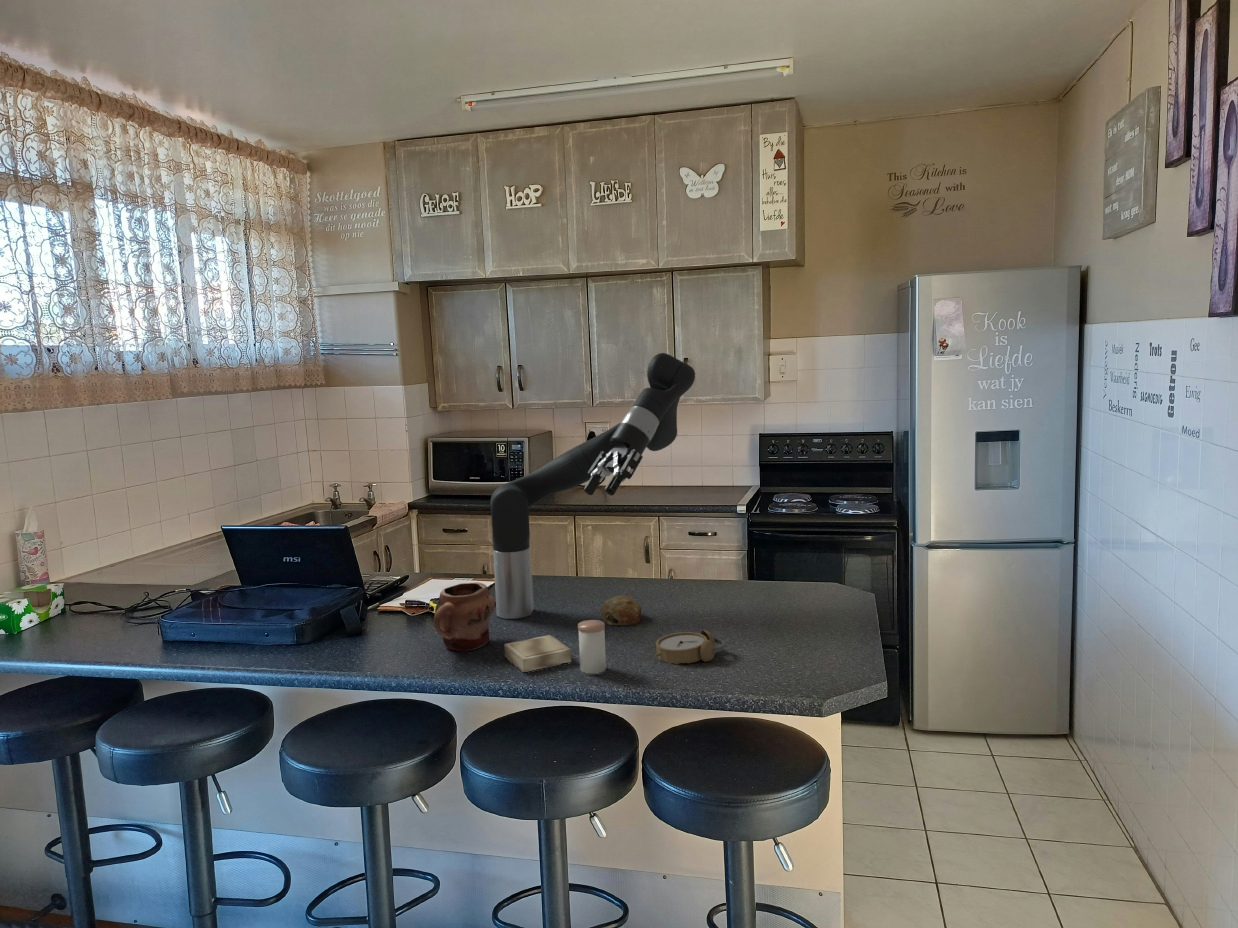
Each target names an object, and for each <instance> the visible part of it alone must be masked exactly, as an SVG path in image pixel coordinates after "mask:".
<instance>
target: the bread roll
mask: <svg viewBox="0 0 1238 928" xmlns="http://www.w3.org/2000/svg"><path fill="white" fill-rule="evenodd" d="M601 616H602V619H603V622H604V623H605V624H607V625H608V626H611V625H612V626H632V625H635V624H638V623H640V621H641V616H642V606H641V605H640V604H639V602H638V601H636V600H635V599H634V598H633V597H631V596H628V595H626V594H625V595H624V594H621V595H617V596H614V597H611V598H608V599H607V600H606V601H605V602H604V603H603V605H602V608H601Z"/></svg>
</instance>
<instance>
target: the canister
mask: <svg viewBox="0 0 1238 928" xmlns="http://www.w3.org/2000/svg"><path fill="white" fill-rule="evenodd" d="M605 629H606V622H605V621H604V620H603V621H602V620H599V619H588V620H582V621H580V622H579V623H577V630H578V645H579V648H578V649H579V651H578V652H579V671H580V670H581V671H582V672H585V673H599V672H602V671H604V670H605V669H606V670H607V662H606V639H605V637H606V633H605Z"/></svg>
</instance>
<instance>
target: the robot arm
mask: <svg viewBox="0 0 1238 928" xmlns="http://www.w3.org/2000/svg"><path fill="white" fill-rule="evenodd" d="M646 371H647V374H646V377H647V382H648V385H649V387H645V388H644V389H642V391H641V392H640V393H639V394H638V396H637V398H636V399H635V401H634V403H633V404H632V406H631V407H630V409H629V410H628V412H626V413H625V415H624V416H623V418H622V420H621V421H620V422H619V423H617V424H615V425H614V426H612V427H610V428H609V429H607V430H605V431H604V432H602V433H600V434H598V435H596V436H593V438H590V439H589V440H585V442H582V443H580V444H578V445H576V446H574V447H572V448H570V449H569V450H566V451H565V452H564V453H562V454H560V455H559V456H556V457H555V458H554V459H552V460H550V461H548V462H547V463H545V464H544V465H542V466H541V467H540V468H537V469H536V470H534V471H532V472H531V473H527V475H524V476H521V477H519V478H516V479H514V480H512V481H508V482H506V483H504V484H502V485H499V486H498V487H497V488H496V489H495V490H494V491H493V492H492V494H491V496H490V502H489V504H490V511H491V512H490V514H491V530H492V532H491V533H492V534H491V535H492V537H491V538H492V551H493V553H492V554H493V569H494V588H495V590H494V591H495V607H496V610H495V611H496V616H497V617H499V618H502V619H505V620H506V619H507V620H509V619H511V620H513V619H522V618H525V617H529V616H530V615H532V614H533V610H534V609H535V606H534V602H535V601H534V583H533V581H534V580H533V573H532V572H531V571H532V569H531V552H530V551H531V550H530V537H531V535H530V534H531V533H530V532H531V531H530V513H529V512H530V511H529V510H530V509H529V508H530V507H532V506H533V505H535V504H536V503H538V502H539V501H542V500H543V499H545V498H548V496H552V495H555V494H557V493H560V492H564V491H566V490H571V489H574V488H576V487H579V486H582V485H583V484H585V483H586V484H585V485H584V488H583V492H584V493H586V494H587V495H588V496H593V495H594V494H595V491H596V490H597V488H598V486H599V485H600V483H601V481H603V480H604V479H605V478H606V477H610V476H611V475H612V474H613V475H612V476H611V478H610V479H609V481H608V482H607V484H606V485H605V487H604V492H605V493H606V494H608V495H609V496H614V495H615V493H616V492H617V490H618V489H619V487H620V485H621V484H622V483H623V482H625V481H626V480H630V479H631V478H632V477H633V476H634V474H635V472H636V470H637V468H638V466H639V465H640V463H641V461H642V460H643V458H644V457H643V453H644V452H645V450H646V449H648V450H649V451H651V452H658V451H661V450H663V449H665V448H667V447H669V446H670V445H671V444H673V442H675V440H676V438H677V436H678V420H677V419H678V416H677V415H678V406H679V402H680V398H681V397H682V396H683V395H685V394H686V393H687V392H688V390H690V388H692V387H693V384H694V382H695V379H696V373H695V372H696V371H695V369H694V368H693V367H692V366H690V365H689V364H687V363H686V362H683V361H681V360H680V359H678V358H676V357H674V356H672V355H671V354H668V353H665V352H660V353H657V354H655V355H654V356H653V357H652V358H651V359H650V361H649V363H648V366H647V370H646ZM629 469H630V470H629Z"/></svg>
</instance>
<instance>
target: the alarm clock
mask: <svg viewBox="0 0 1238 928" xmlns="http://www.w3.org/2000/svg"><path fill="white" fill-rule="evenodd" d="M716 643H717V644H720V646H718V647H715V646H716ZM655 646H656V654H654V657H657V656H658V657H657V659H658V658H660V659H661V660H663V661H667V662H670V663H687V664H691V663H696V662H698V661H702V662H703V661H704V663H708V662H707V661H709V662H711V661H712V660H713V659H714V657H715V654H717V653H718V652H719V653H720V652H721V651H723V650H724V649H725V648H726V644H725V640H723V639H720V638H716V637H714V635H713V633H711V632H710V631H708V630H702V631H701V632H700V633H699V632H691V631H682V632H681V631H680V632H674V633H670V634H666V635H663V636H661V637H659V638H658V639H657V640H656V641H655ZM660 659H659V660H660ZM661 660H660V661H661ZM663 661H662V662H663Z"/></svg>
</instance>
